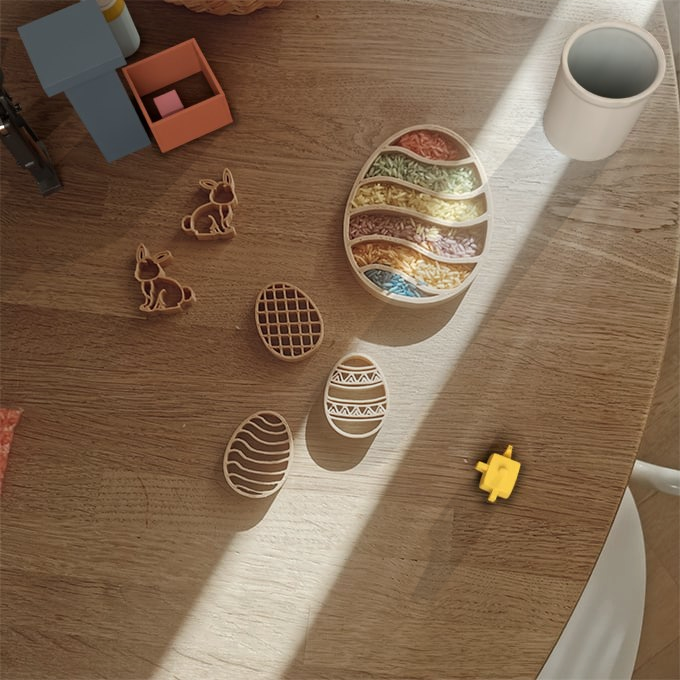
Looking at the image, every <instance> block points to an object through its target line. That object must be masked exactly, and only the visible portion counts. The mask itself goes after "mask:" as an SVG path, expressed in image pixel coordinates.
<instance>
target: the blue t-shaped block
mask: <svg viewBox="0 0 680 680" xmlns="http://www.w3.org/2000/svg"><path fill="white" fill-rule="evenodd" d="M16 30H17V32H18V34H19V36H20V37H19V38H20V39H21V41H22V43H23V46H24V48H25V50H26V53H27V55H28V58H29V60H30V62H31V65H32V67H33V69H34V71H35V73H36V76H37V78H38V80H39V83H40V85H41V87H42V89H43V91H44V92H45V94H46V95H47V97H48V98H51V97H53V96H56V95H58V94H61V93H62V92H63V93H64V95H65V96H66V98H67V100H68V101H69V103H70V104H71V106H72V107H73V109H74V110H75V112H76V114H77V115H78V117H79V118H80V120H81V122H82V123H83V125H84V126H85V128H86V130H87V131H88V133H89V135H90V137H91V138H92V140H93V141H94V143H95V144H96V146H97V148H98V149H99V151H100V152H101V154H102V155H103V157H104V159H105V160H106V162H107V163H108V164H110V163H112V162H114V161H116V160H120V159H121V158H124V157H126V156H128V155H131V154H132V153H135V152H137V151H139V150H141V149H144V148H147V147H148V146H151V145H152V141H151V139H150V137H149V135H148V133H147V131H146V129H145V127H144V124H143V123H142V120H141V118H140V117H139V114H138V113H137V111H136V108H135V106H134V104H133V102H132V100H131V99H130V96H129V95H128V93H127V90H126V88H125V87H124V84H123V82H122V80H121V78H120V76H119V74H118V72H117V69H119V68H122V67H124V66H126V65H127V64H128V63H127V60H126V58H124V56H123V54H122V52H121V50H120V48H119V46H118V44H117V42H116V40H115V38H114V36H113V34H112V32H111V30H110V28H109V26H108V24H107V22H106V20H105V18H104V16H103V14H102V12H101V10H100V8H99V5H98V3H97V1H96V0H84V1H79V2H77V3H74V4H72V5H69V6H67V7H65V8H62V9H60V10H57V11H55V12H53V13H50V14H48V15H45V16H43V17H40V18H38V19H36V20H33V21H31V22H28V23H26V24H23V25H21V26H18V27H17V28H16Z"/></svg>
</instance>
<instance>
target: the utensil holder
mask: <svg viewBox="0 0 680 680" xmlns="http://www.w3.org/2000/svg"><path fill="white" fill-rule="evenodd" d="M666 60H667V59H666V55H665V52H664V49H663V47H662V45H661V44H660V42H659V41H658V40H657V38H656V37H655V35H653V34H652V33H650V32H649V31H648V30H647V29H645V28H644V27H642V26H640V25H639V24H636V23H633V22H630V21H627V20H623V19H614V18H613V19H612V18H611V19H599V20H595V21H592V22H589V23H586V24H585V25H582V26H581V27H579V28H577V29H576V30H575V31H573V32H572V34H571V35H570V36H569V37H568V38H567V39H566V41H565V43H564V45H563V47H562V51H561V55H560V59H559V65H558V69H557V72H556V75H555V78H554V81H553V85H552V87H551V91H550V94H549V97H548V100H547V104H546V107H545V112H544V115H543V120H542V128H543V133H544V136H545V138H546V140H547V141H548V143H549V145H551V147H552V148H553V149H554V150H556V151H557V152H558V153H560V154H561V155H562V156H565V157H567V158H570V159H573V160H576V161H580V162H595V161H601V160H603V159H606V158H608V157H610V156H612V155H613V154H615V153H616V152H618V151H619V149H620V148H621V147H622V145H623V144H624V143H625V141H626V139H627V137H628V136H629V135H630V133H631V131H632V130H633V128H634V126H635V125H636V123H637V121H638V120H639V118H640V116H641V114H642V113H643V111H644V109H645V107H646V106H647V104H648V102H649V100H650V98H651V97H652V95H654V93H655V92H656V91H657V89H658V88H659V87H660V85H661V83H662V81H663V79H664V77H665V74H666V70H667V61H666Z"/></svg>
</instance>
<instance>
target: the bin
mask: <svg viewBox="0 0 680 680" xmlns="http://www.w3.org/2000/svg"><path fill="white" fill-rule="evenodd" d="M121 71H122V73H123V75H124V77H125V79H126V81H127V83H128V86H129V88H130V90H131V91H132V94H133V95H134V96H133V97H134V98H135V100H136V102H137V104H138V106H139V108H140V110H141V112H142V115H143V116H144V118H145V120H146V122H147V124H148V126H149V128H150V131H151V133H152V134H153V137H154V139H155V141H156V143H157V145H158V147H159V149H160V151H161V153H162V154H165V153H166V152H169V151H171V150H173V149H175V148H177V147H180V146H182V145H185V144H187V143H188V142H191V141H193V140H196V139H198V138H201V137H202V136H205V135H208V134H209V133H211V132H214V131H216V130H218V129H221V128H223V127H224V126H225V127H226V126H228V125H230V124H231V123H232V124H233V122H234V120H233V117H232V114H231V110H230V107H229V103H228V101H227V98H226V94H225V93H224V91H223V88H222V86H221V85H220V83H219V82H218V79H217V78H216V76H215V74H214V72H213V71H212V68H211V66H210V65H209V62H208V61H207V60H206V57H205V56H204V54H203V52H202V50H201V48H200V46H199V45H198V43H197V41H196V39H195V38H194V37H192V38H190V39H188V40H185V41H183V42H181V43H178V44H176V45H173V46H171V47H169V48H167V49H164V50H162V51H159V52H158V53H154V54H153V55H150V56H148V57H146V58H143V59H141V60H138V61H136V62H134V63H131V64H129V65H127V66H125V67H121ZM199 72H202V74H203V75H204V77H205V80H206V81H207V83H208V85H209V87H210V88H211V90H212V93H213V95H214V96H212V97H209V98H206V99H205V100H202V101H199V102H198V103H196V104H193V105H191V106H189V107H187V108H184V110H182V111H180V112H177V113H175V114H173V115H170V116H168V117H166V118H164V119H162V118H161V119H159V120H157V121H154V122H153V121H152V119H151V117H150V116H149V114H148V112H147V110H146V108H145V106H144V103H143V101H142V99H141V98H142V97H144V96H146V95H148V94H151V93H153V92H156V91H158V90H160V89H163V88H165V87H167V86H169V85H172V84H175V83H177V82H178V81H182V80H183V79H185V78H186V79H187V78H188V77H190V76H193V75H194V74H197V73H199Z"/></svg>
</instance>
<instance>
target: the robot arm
mask: <svg viewBox="0 0 680 680" xmlns="http://www.w3.org/2000/svg"><path fill="white" fill-rule="evenodd" d="M4 82H5V74H4V71H3V69H2V67H1V66H0V141H1V142H2V144H3V145H4V146H5V148H6V149H7V150H8V151H9V154H11V155H12V157H13V159H14V160H15V163H16V166H18V167H19V166H20V168H21V169H22V170H23V171H26V170H27V171H28V172H29V173H30V174H31V175H32V176H33V178H34V177H35V178H34V180H35V179H36V180H37V181H38V182H42V181H44V180H46V179H48V178H51V177H53V176H54V174H53V172H52V171H51V169H50V168H49V167H48V166H47V164H46V163H45V162H44V160H43V159H42V158H41V156H40V155H39V154H38V153H37V151H36V150H33V149H32V147H31V146H30V144H29V143H28V141H27V140H26V138H25V136H24V135H23V133H22V132H21V130H20V129H19V128H20V127H24V128H25V129H26V131H27V132H28V133H29V135H30V136H31V137H32V139H33V140H34V141H35V142H38V141H40V139H39V136H38V135H37V134H36V133H35V130H34V129H33V128H32V127H31V126H30V124H29V123H28V122H27V120H26V119H25V117H24V116H23V114H22V113H21V111H23V110H24V109H23V107H22V106H21V103H20V102H17V103H15V104H14V102H13V101H14V100H13V96H12V95H11V94H10V93H9V92H8V90H7V89H6V87H4ZM18 112H19V113H18ZM36 180H35V181H36Z"/></svg>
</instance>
